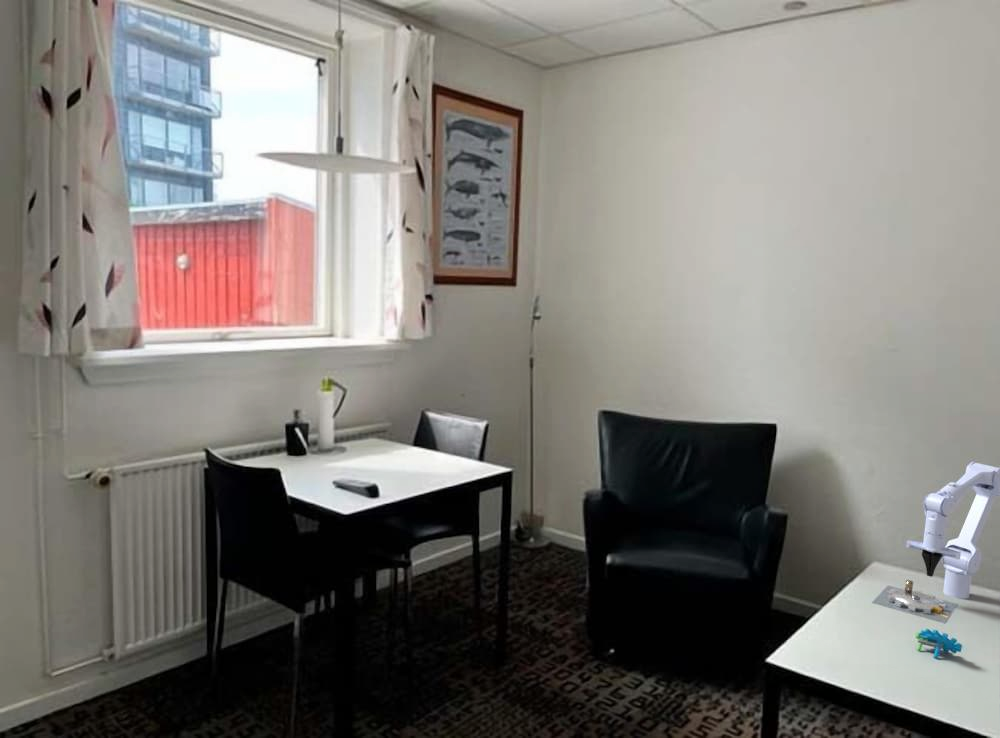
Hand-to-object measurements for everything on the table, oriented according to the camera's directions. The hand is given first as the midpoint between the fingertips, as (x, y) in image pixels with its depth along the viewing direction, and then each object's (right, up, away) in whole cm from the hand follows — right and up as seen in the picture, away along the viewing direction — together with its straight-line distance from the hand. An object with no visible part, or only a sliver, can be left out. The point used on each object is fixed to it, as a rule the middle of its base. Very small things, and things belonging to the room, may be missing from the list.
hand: (929, 575), depth 239 cm
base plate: (-5, -9, -1) cm, 11 cm away
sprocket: (-5, -8, -1) cm, 10 cm away
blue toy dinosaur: (-16, -13, -33) cm, 39 cm away
